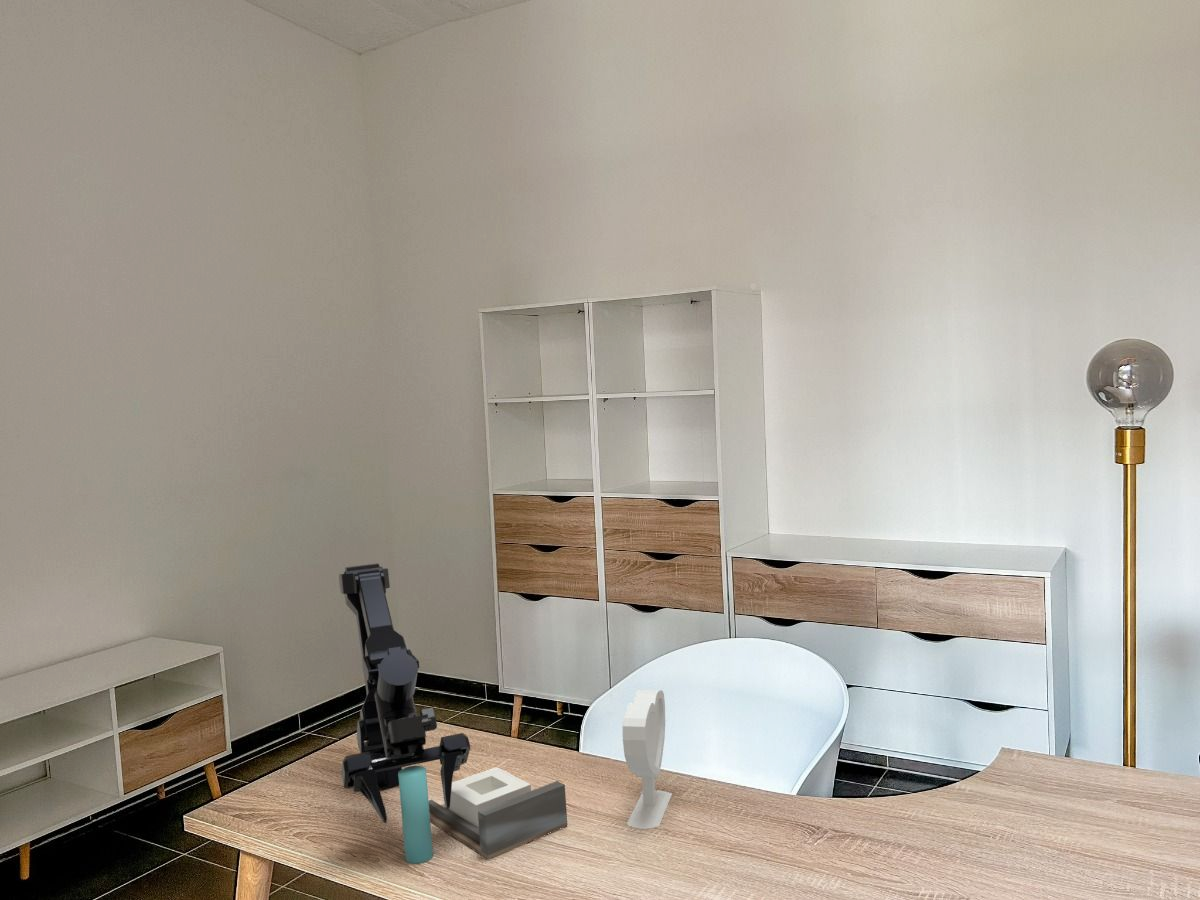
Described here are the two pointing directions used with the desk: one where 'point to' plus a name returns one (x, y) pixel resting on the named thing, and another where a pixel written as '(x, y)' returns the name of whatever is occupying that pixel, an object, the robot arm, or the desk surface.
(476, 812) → the socket block
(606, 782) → the desk surface
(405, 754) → the robot arm
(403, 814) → the dowel
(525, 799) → the rail board
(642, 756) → the heart sculpture
